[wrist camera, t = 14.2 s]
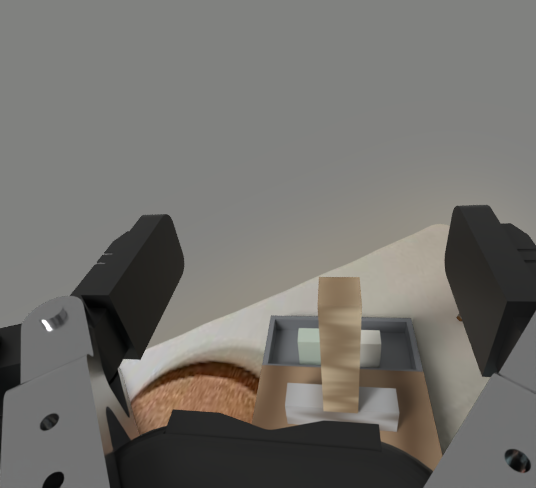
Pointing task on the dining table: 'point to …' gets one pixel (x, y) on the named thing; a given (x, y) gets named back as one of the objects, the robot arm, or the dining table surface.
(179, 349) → the dining table surface
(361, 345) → the tile
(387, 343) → the tray
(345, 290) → the scraper
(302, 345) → the tile
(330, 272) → the dining table surface
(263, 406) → the board
